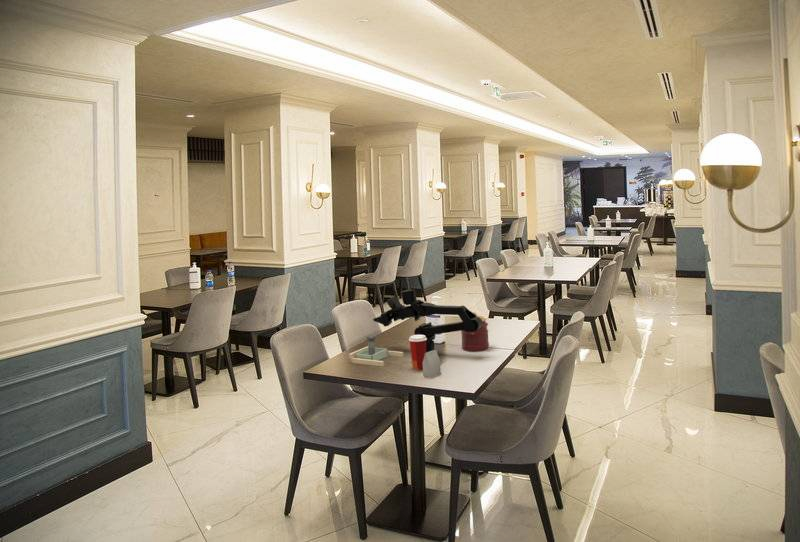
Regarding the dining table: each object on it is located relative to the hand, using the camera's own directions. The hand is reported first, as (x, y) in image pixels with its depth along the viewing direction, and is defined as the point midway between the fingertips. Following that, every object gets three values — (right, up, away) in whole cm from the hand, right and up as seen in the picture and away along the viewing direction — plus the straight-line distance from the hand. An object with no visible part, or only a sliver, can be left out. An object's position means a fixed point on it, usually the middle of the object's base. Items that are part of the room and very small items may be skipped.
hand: (377, 317), depth 277 cm
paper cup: (+19, -20, -32) cm, 42 cm away
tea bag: (+24, -21, -43) cm, 54 cm away
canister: (+47, -15, -4) cm, 50 cm away
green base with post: (-2, -18, -16) cm, 24 cm away
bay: (0, -19, -17) cm, 25 cm away
